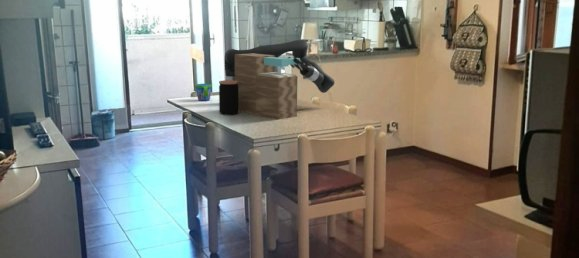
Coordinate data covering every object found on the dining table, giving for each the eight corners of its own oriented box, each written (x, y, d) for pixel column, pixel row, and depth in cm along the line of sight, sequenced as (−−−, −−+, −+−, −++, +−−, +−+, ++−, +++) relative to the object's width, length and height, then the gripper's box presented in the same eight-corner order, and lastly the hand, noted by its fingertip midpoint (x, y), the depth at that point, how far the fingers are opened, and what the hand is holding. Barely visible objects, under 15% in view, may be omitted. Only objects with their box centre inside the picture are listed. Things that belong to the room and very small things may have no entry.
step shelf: (278, 119, 299) (278, 58, 293) (235, 110, 324) (234, 54, 318) (296, 116, 309) (297, 57, 302) (253, 107, 334) (253, 53, 327)
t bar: (281, 66, 298) (281, 59, 297) (263, 64, 307) (263, 57, 307) (306, 64, 311) (306, 57, 310) (288, 62, 321) (288, 55, 320)
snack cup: (194, 98, 365) (194, 83, 363) (211, 98, 367) (210, 82, 365) (196, 102, 350) (195, 86, 348) (213, 102, 353) (213, 85, 350)
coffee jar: (241, 112, 318) (241, 80, 314) (233, 115, 308) (233, 83, 304) (224, 111, 321) (224, 79, 318) (216, 114, 311) (215, 82, 308)
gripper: (302, 65, 329) (284, 51, 317) (321, 67, 319) (302, 53, 307) (298, 77, 328) (279, 63, 316) (316, 79, 318) (297, 65, 306)
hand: (291, 58), depth 312 cm, fingers closed on t bar, 4 cm apart
